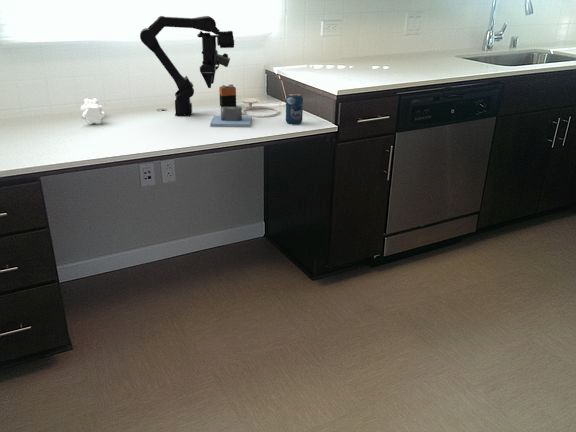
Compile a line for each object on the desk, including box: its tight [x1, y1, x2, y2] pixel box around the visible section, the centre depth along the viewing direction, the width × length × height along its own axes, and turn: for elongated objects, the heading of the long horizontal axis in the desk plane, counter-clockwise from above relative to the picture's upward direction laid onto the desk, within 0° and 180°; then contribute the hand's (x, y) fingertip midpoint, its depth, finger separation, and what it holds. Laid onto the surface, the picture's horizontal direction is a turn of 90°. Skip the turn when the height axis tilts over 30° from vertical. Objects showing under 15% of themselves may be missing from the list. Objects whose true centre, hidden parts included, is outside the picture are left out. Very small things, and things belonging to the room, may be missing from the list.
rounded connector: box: [220, 106, 248, 121], centre depth 225 cm, size 11×4×5 cm, turn 90°
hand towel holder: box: [241, 97, 280, 118], centre depth 243 cm, size 17×4×20 cm
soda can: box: [285, 92, 304, 126], centre depth 226 cm, size 7×7×12 cm
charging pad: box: [209, 115, 253, 128], centre depth 227 cm, size 16×13×1 cm
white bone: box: [80, 97, 106, 125], centre depth 225 cm, size 15×9×8 cm, turn 22°
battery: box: [218, 84, 237, 108], centre depth 249 cm, size 4×7×10 cm, turn 113°
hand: (210, 85), depth 235 cm, fingers open, 9 cm apart
